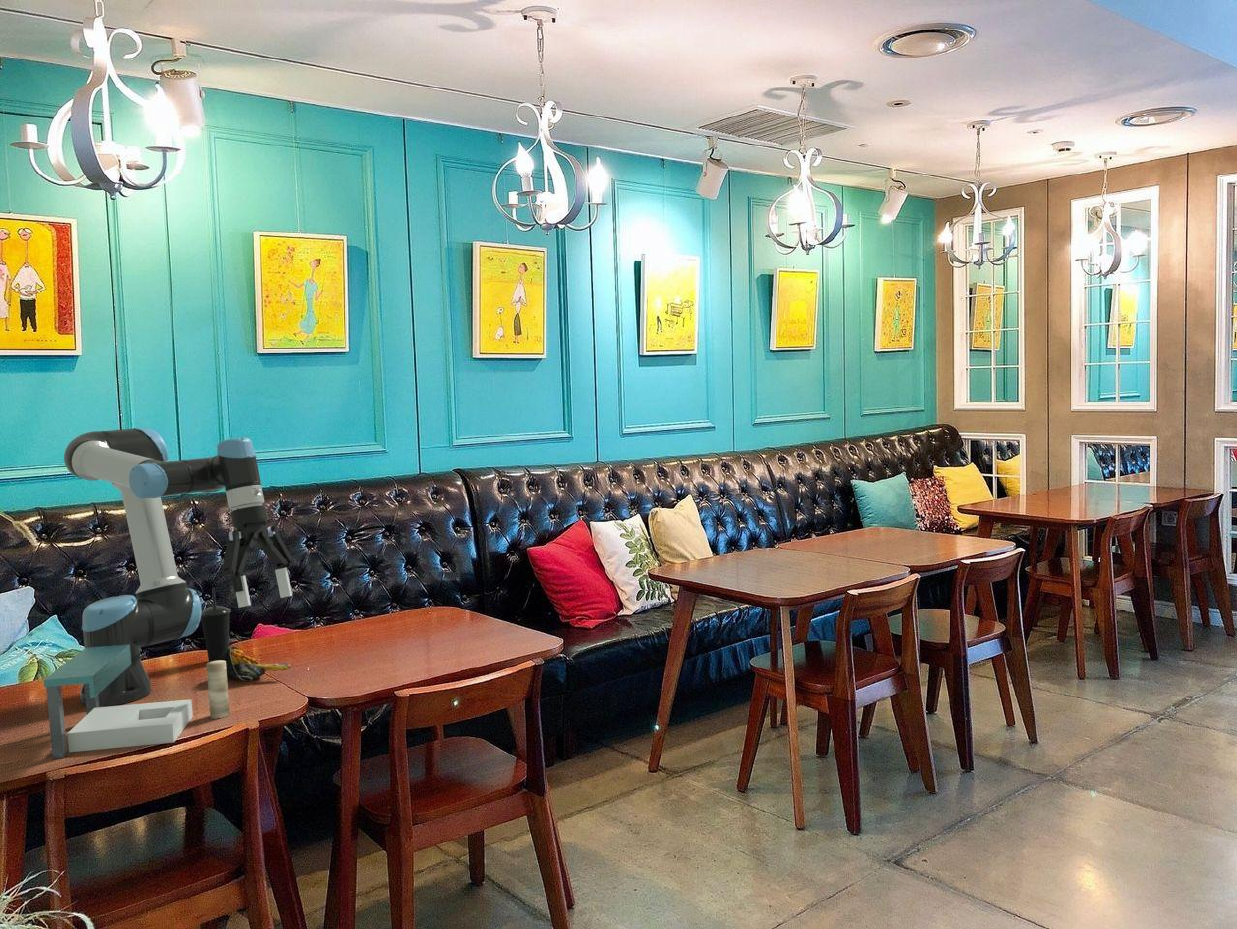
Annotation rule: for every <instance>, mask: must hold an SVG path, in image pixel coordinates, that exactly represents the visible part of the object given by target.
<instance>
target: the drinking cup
mask: <svg viewBox="0 0 1237 929" xmlns="http://www.w3.org/2000/svg"><path fill="white" fill-rule="evenodd" d="M215 588H216V587H211V592H212V606H210V607H208V608H205V609H204V610H201V619H200V620H201V623H202V630H203V636H204V641H205V646H206V650H207V651H206V652H207V658H208V663H209V662H212V661H218V660H219V658H220V656H221V655H222V654H223V653H224V652H225V651H227V650H228V649H229V648H230V646H229V645H230V613H231V608H228V607H225V606H221V605H219V606H218V605H217V602H216V589H215Z"/></svg>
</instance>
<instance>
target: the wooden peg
mask: <svg viewBox="0 0 1237 929" xmlns="http://www.w3.org/2000/svg"><path fill="white" fill-rule="evenodd" d="M206 676H207V677H206V678H207V690H208V701H209V716H210V719H212V718H214V720H216V719H217V718H220V719H224V718H227V717H229V716H230V715H231V713H230V701H229V697H230V696H229V683H228V679H227V670H226V661H223V660H219V661H212V662H209V661H208V662H207V663H206ZM228 715H229V716H228ZM226 716H227V717H226ZM223 717H224V718H223ZM217 720H218V719H217Z"/></svg>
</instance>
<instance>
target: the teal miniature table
mask: <svg viewBox="0 0 1237 929" xmlns="http://www.w3.org/2000/svg"><path fill="white" fill-rule="evenodd" d="M130 665H131V654H130V644H128V645H116V646H103V647H90V648H85V647H84V648H83V649H82V650H81V651H80V652H78V653H77V654H75V656H73V657H72V658H71V659H70V660H68V661H66V662H65V663H64V664H63V665H61V666H60V667H59V668H57V669H56V670H55V671H53V672H52V673H51V674H49V675H48V676H47V677H45V678H44V679H43V687H44V688H46V699H47V710H48V719H49V720H48V721H49V732H50V743H51V753H52V760H56V759H64V758H66V756H67V755H68V747H67V735H66V734H67V733H66V727H65V726H66V722H65V714H64V713H65V712H64V703H63V693H62V692H63V691H62V690H63V689H62V686H63V687H65V686H74V685H76V686H77V685H83V684H84V688H85V700H86V705H85V708H86V709H85V711H86V715H87V714H88V713H89V712H91V711H92V710H93V709H94V708H98V707H100V706H99V697H98V694H99V693H100V692H101V691H103V690H104V689H105V688H106V687H107V686H108V685H109V684H110V683H111V682H112V681H113V680H115V679H116V678H117V677H118V676H119V675H120V674H121V673H122V672H123V671H124V670H125V669H127V668H128V667H129V666H130Z"/></svg>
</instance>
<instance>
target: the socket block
mask: <svg viewBox="0 0 1237 929" xmlns="http://www.w3.org/2000/svg"><path fill="white" fill-rule="evenodd" d="M193 716H194V715H193V702H192V699H189V698H188V699H179V700H168V701H156V702H145V703H135V704H122V705H121V704H120V705H110V706H99V707H98V708H94V709H93V710H92V711H91V712H89V713H88V714H87V713H86V715H85V716H84V717H83V718H82V719H81V720H80V721H79V722H77V723H76V724H75V726H74V727H72V729H70V731H68V732H67V733H66V734H67V742H68V743H67V744H68V752H69V753H76V752H77V753H78V752H87V751H97V750H98V751H99V750H107V749H119V748H129V747H139V746H140V747H141V746H150V745H160V744H162V745H163V744H172V743H173V744H174V743H175V742H176V741H177V739H178V738H179V736H180V735H181V733H182V732H183V730H184V729H185V728H186V727H187V725H188V724H189V722H191V720H192V718H193Z"/></svg>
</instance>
